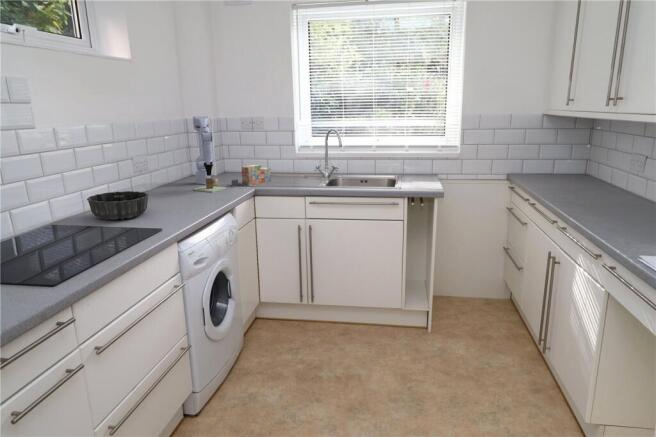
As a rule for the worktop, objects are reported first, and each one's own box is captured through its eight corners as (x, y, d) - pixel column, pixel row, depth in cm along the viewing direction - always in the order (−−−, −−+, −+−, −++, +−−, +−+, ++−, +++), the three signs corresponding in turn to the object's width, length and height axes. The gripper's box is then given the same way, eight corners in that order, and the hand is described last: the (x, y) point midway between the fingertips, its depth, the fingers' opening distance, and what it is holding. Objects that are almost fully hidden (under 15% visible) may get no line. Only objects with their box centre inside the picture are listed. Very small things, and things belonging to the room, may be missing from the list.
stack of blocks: (264, 180, 307) (263, 162, 304) (270, 181, 304) (270, 163, 300) (242, 184, 290) (241, 166, 287) (249, 185, 287) (248, 167, 283)
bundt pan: (134, 207, 226) (131, 188, 224) (161, 215, 210) (159, 195, 208) (80, 217, 207) (77, 196, 204) (105, 226, 190) (102, 204, 188)
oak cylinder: (209, 186, 282) (209, 179, 280) (214, 185, 285) (214, 178, 284) (214, 187, 280) (214, 179, 278) (219, 186, 283) (219, 178, 282)
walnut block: (206, 187, 273) (205, 178, 272) (212, 187, 274) (212, 177, 273) (206, 188, 270) (205, 179, 268) (213, 188, 271) (212, 178, 269)
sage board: (193, 190, 271) (193, 188, 271) (207, 186, 281) (206, 185, 281) (212, 192, 263) (212, 190, 263) (226, 189, 274) (225, 187, 273)
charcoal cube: (232, 186, 284) (231, 180, 283) (231, 185, 287) (231, 179, 286) (238, 186, 285) (238, 180, 284) (237, 185, 288) (237, 179, 287)
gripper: (214, 153, 261) (216, 176, 265) (213, 151, 275) (215, 172, 278) (202, 154, 259) (204, 176, 263) (202, 151, 273) (203, 173, 276)
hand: (209, 174), depth 270 cm, fingers open, 7 cm apart
